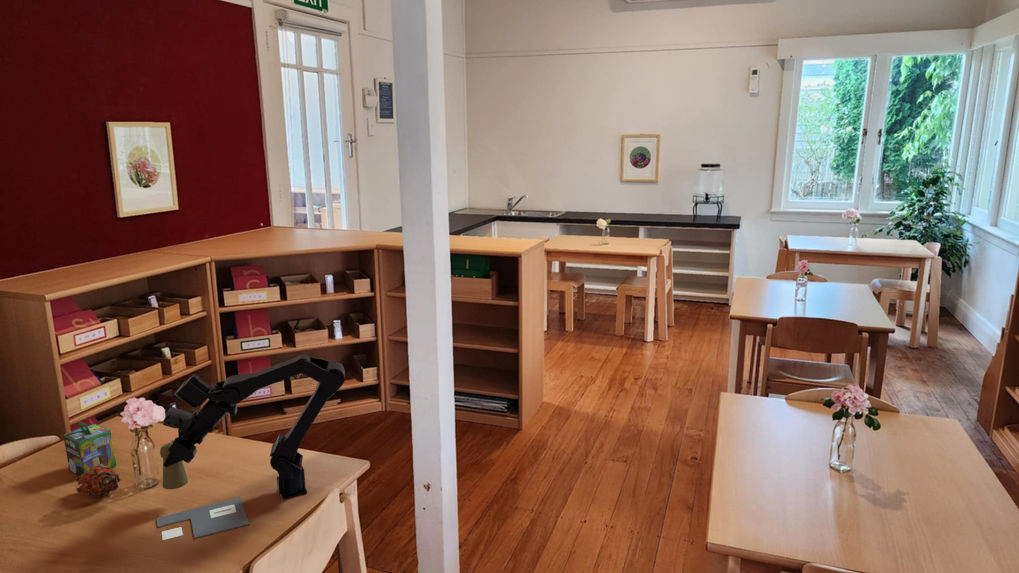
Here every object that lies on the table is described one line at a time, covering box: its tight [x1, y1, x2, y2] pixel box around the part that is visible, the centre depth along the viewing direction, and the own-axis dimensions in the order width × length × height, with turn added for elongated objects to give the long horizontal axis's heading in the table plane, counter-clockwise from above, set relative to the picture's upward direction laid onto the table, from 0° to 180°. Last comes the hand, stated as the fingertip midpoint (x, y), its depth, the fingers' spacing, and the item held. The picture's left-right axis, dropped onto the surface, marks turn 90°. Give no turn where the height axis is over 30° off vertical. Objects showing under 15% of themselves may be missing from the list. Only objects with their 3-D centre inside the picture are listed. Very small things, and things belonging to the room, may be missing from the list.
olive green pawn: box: [159, 442, 189, 490], centre depth 174 cm, size 6×6×11 cm
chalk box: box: [62, 420, 117, 477], centre depth 193 cm, size 9×9×15 cm
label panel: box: [156, 497, 250, 541], centre depth 169 cm, size 20×14×1 cm
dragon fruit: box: [75, 465, 122, 498], centre depth 181 cm, size 8×8×12 cm
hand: (166, 461), depth 174 cm, fingers closed on olive green pawn, 5 cm apart
